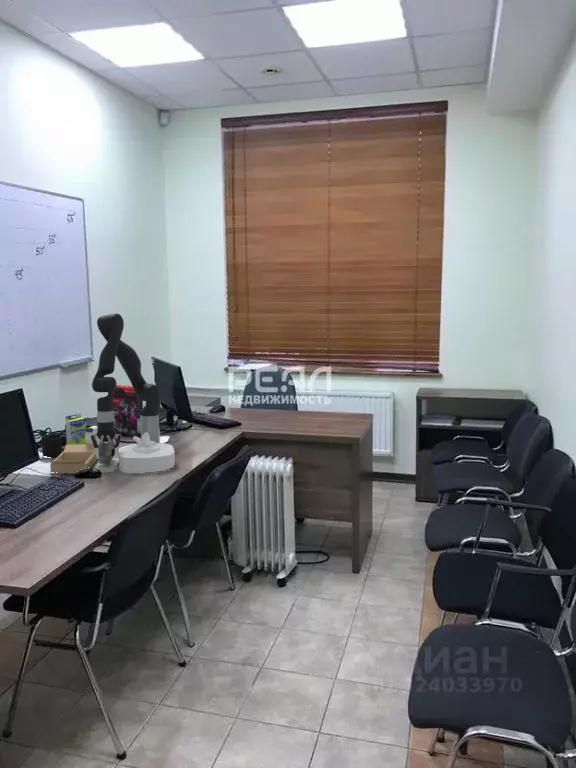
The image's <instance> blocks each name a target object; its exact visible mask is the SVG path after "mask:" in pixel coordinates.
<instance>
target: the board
mask: <svg viewBox="0 0 576 768" xmlns="http://www.w3.org/2000/svg"><path fill="white" fill-rule="evenodd" d="M117 466H118V467H119V457H114V458H113V459H112V461H111V462H110V464H99V461H98V462H97V464H95V466H94V468H96V469H98V470H100V471H101V472H102V473H103V474H105V473H106V474H107V473H109V472H110V473H115V471H116V470H117V468H118V467H117ZM115 469H116V470H115ZM110 473H109V474H110Z"/></svg>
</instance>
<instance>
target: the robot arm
mask: <svg viewBox="0 0 576 768" xmlns="http://www.w3.org/2000/svg"><path fill="white" fill-rule="evenodd" d="M124 321H125V320H124V318H123V317H122V315H121V314H120V313H118V312H117V313H110V314H105V315H102V316H99V317H98V318H97V321H96V324H97V325H96V326H97V328H98V330H99V332H100V334H101V335H102V337H103V339H104V340H105V341H106V344H105V345H104V347H103V349H102V350H101V351H100V355H99V359H98V368H97V370H96V373H95V374H94V377H93V379H92V383H91V388H92V390H93V391H94V392H95V393H107V395H106V396H102V397H99V398H97V400H96V410H97V412H96V426H97V434H93V435H91V439H92V442H93V445H94V448H98V451H99V446H100V444H102V443H103V442H109V444H111V448H112V449H111V457H113V456H114V455H115V456H116V448H117V449H118V448H119V446H120V443H121V439H122V436H123V435H121V434H116V433H115V430H114V412H113V398H114V393H115V389H116V385H118V384H117V379H116V378H115V377H113V376H107V375H112V374H113V373H114V372H115V366H116V365H115V364H116V358H117V360H118V362H119V364H120V365H121V367H122V368H123V370H124V372H125V374H126V376H127V378H128V380H129V381H130V384H131V386H133V388H134V391H135V393H136V395H137V397H138V398H139V399H140V400H142V401H143V402H145V406H144V407H143V409H141V410H140V424H141V435H140V439H141V440H142V436H143V434H144V433H145V432H147V433H148V434H149V436H150V440H151V441H154V442H155V443H161V437H160V435H161V433H160V431H161V430H160V421H159V419H160V418H159V414H160V413H159V412H160V409H161V390H160V387H159V386H158V385H157V384H154V383H147V381H146V380H145V379H144V377H143V374H142V362H141V359H140V358H139V355H138V353H137V352H136V350H135V349H134V348H133V347H132V346H130V345H129V344H127V343H126V342H125V341H123V340H121V338H122V335H123V331H124V326H125V324H124ZM97 437H98V438H99V439H100V442H99V445H98V444H97V441H96V438H97ZM114 438H115V439H116V441H115V440H114V441H113V439H114ZM114 442H115V445H114Z"/></svg>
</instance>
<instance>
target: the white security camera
mask: <svg viewBox="0 0 576 768" xmlns="http://www.w3.org/2000/svg"><path fill="white" fill-rule="evenodd" d="M85 432H86V436H85V440H86V443H87V444H93V442H92V439H91V435H93V434H97V425H92V426H90V427H86V428H85ZM96 441H97V444H98V445H99V442H100V439H99V438H98V437H97V438H96ZM94 452H95V453H96V460H99V451H98V448H95V451H94Z"/></svg>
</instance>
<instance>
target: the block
mask: <svg viewBox="0 0 576 768" xmlns="http://www.w3.org/2000/svg"><path fill="white" fill-rule="evenodd" d="M113 441H114V445H116V441H115V439H114V438H113ZM111 449H112V448H111V444H109V442H103V443H102V444H100V446H99V459H98V462H99V464H110V462H111V461H112V459H113V458H116V454H115V455H114V456H113V457H111Z"/></svg>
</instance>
